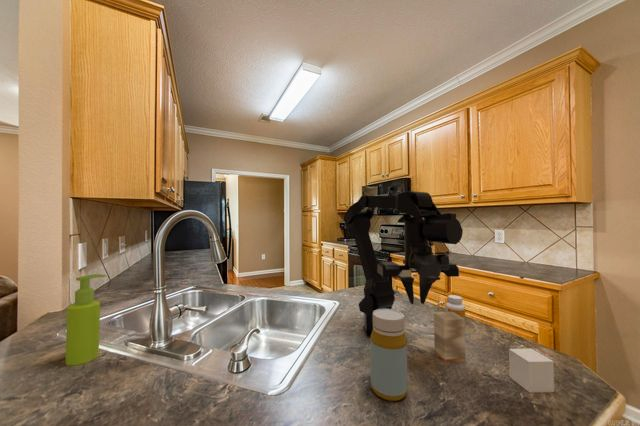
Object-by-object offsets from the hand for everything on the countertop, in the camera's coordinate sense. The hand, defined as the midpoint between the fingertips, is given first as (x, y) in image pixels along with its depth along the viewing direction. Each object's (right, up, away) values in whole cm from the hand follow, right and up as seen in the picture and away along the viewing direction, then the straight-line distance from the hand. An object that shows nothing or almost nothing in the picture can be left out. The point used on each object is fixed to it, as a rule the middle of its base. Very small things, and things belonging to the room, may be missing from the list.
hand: (417, 303), depth 62 cm
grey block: (+19, -13, -11) cm, 26 cm away
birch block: (+8, -13, 0) cm, 15 cm away
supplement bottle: (+18, -14, +16) cm, 28 cm away
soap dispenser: (-82, -13, -1) cm, 83 cm away
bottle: (-11, -13, -13) cm, 21 cm away
